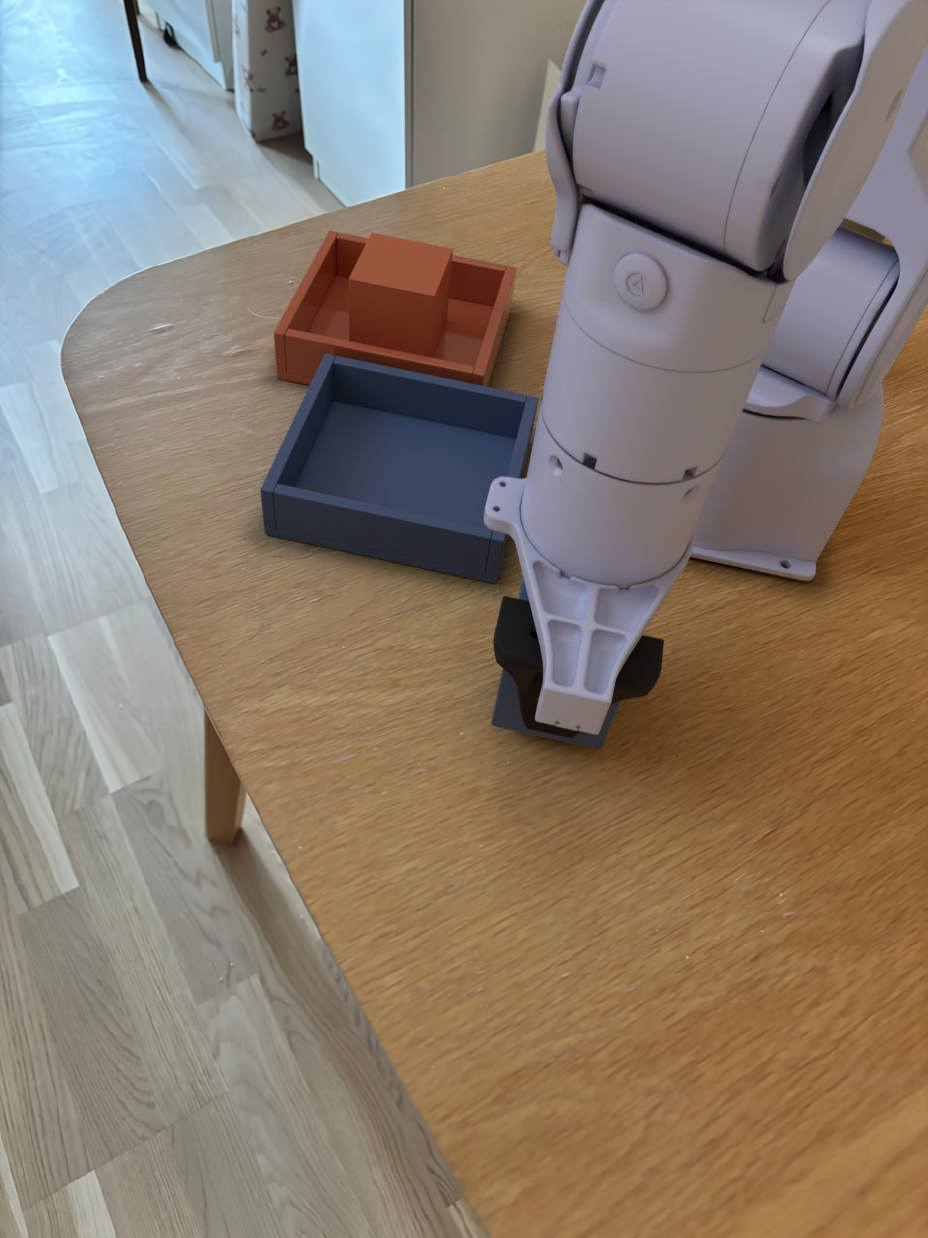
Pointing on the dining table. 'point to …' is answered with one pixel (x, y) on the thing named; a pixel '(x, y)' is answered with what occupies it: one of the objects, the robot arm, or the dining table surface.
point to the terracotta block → (400, 295)
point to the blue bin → (398, 466)
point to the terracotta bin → (324, 329)
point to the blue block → (510, 713)
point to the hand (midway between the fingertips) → (559, 672)
